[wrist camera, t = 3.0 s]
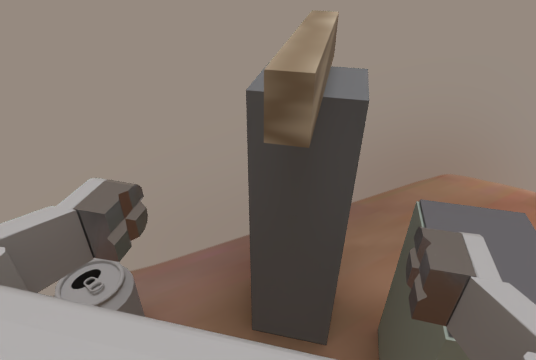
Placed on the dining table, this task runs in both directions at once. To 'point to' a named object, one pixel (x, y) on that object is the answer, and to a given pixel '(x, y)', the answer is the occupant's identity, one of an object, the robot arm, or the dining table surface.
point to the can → (101, 287)
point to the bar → (299, 81)
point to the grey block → (503, 254)
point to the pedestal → (302, 208)
